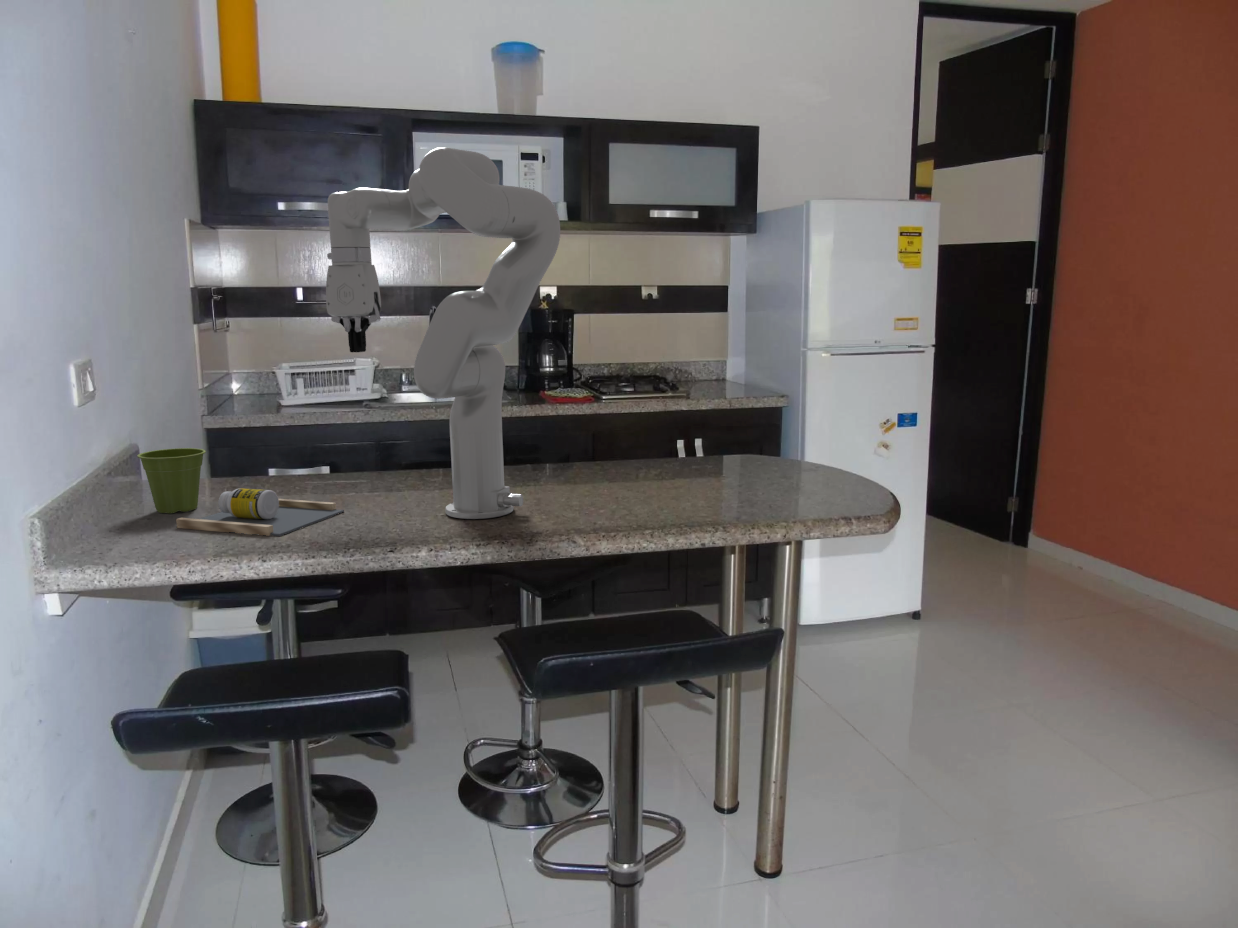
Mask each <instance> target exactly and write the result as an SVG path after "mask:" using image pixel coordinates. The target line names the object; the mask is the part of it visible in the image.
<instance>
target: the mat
mask: <svg viewBox="0 0 1238 928" xmlns="http://www.w3.org/2000/svg"><path fill="white" fill-rule="evenodd" d="M342 512H343V513H345V509H338V508H336V509H335V510H321V509H308V508H295V507H281V506H279V508H278V511H277V514H276V515H275V516H274V517H273V518H271V519H251V518H237V517H234V516H232V515H231V514H230V513H224V512H222V511H220V512H219V511H218V512H216V513H213V514H210V515H207V516H204V517H200V518H199V519H204V520H216V521H228V522H240V523H252V524H264V525H273V532H272V533H270V536H272V535H273V537H274V536H275V537H282V536H285V535H287V534H290V533H293V532H294V531H298V530H301V529H303V528H306V527H309V526H311V525H314V524H317V523H318V522H321V520H322V521H324V520H328V519H329V518H332V517H335V516H337V515H336V514H338V513H340V514H343V513H342ZM334 515H335V516H334ZM338 515H339V514H338ZM331 516H332V517H331ZM313 523H314V524H313ZM302 527H303V528H302ZM300 528H301V529H300ZM292 531H293V532H292ZM284 534H285V535H284Z"/></svg>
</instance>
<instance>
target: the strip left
mask: <svg viewBox="0 0 1238 928" xmlns="http://www.w3.org/2000/svg"><path fill="white" fill-rule="evenodd" d="M175 521H176V528H177V529H185V530H194V531H195V530H196V531H197V530H198V531H207V532H218V533H219V532H220V533H229V532H235V533H234V534H241V533H244V534H245V535H252V534H259V535H258V536H263V535H266V537H269V536H271V535H270V533H272V532H273V525H264V524H252V523H240V522H228V521H216V520H204V519H200V518H192V517H191V518H188V517H179V518H175ZM246 533H247V534H246ZM244 534H243V535H244Z"/></svg>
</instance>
